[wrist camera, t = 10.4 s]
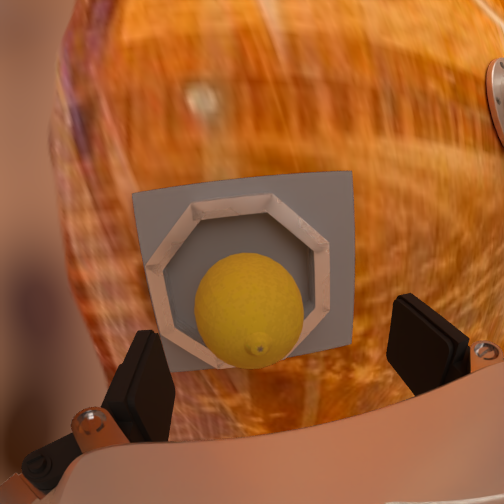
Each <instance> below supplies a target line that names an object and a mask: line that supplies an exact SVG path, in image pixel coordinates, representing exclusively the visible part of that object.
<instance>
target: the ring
mask: <svg viewBox="0 0 504 504" xmlns="http://www.w3.org/2000/svg"><path fill="white" fill-rule="evenodd" d="M264 212H267V213H268V214H269V215H271V216H272V217H273V218H274V219H275V220H277V221H278V222H279V223H280V224H282V225H283V226H284V227H285V228H286V229H288V230H289V231H290V232H291V233H292V234H293V235H295V236H296V237H297V238H298V239H299V240H301V241H302V242H303V243H304V244H305V245H306V246H307V266H308V294H309V299H308V300H307V301H306V302H305V303H304V304H303V308H304V320H303V328H302V332H301V334H300V337H299V340H298V341H297V343H296V344H295V346H294V347H293V349H292V350H291V351H290V352H289V353H288V354H287V355H286V356H285V357H284V358H283V359H281V360H285V359H286V357H287V356H288V355H289V354H290V353H291V352H292V351H293V350H294V349H295V348H296V347H297V346H298V345H299V344H300V343H301V342H302V341H303V340H304V339H305V338H306V336H307V335H308V334H309V333H310V332H311V331H312V330H313V329H314V328H315V327H316V326H317V324H318V323H319V322H320V321H321V320H322V319H323V318H324V317H325V316H326V314H327V313H328V312H329V311H330V253H329V242H328V241H327V240H326V239H325V238H323V237H322V236H321V235H320V234H319V233H318V232H317V231H316V230H314V229H313V228H312V227H311V226H310V225H309V224H308V223H306V222H305V221H304V220H303V219H302V218H301V217H300V216H298V215H297V214H296V213H295V212H294V211H293V210H292V209H290V208H289V207H288V206H287V205H286V204H284V203H283V202H282V201H281V200H280V199H279V198H277V197H276V196H275V195H274V194H273V193H269V192H266V193H256V194H247V195H238V196H229V197H220V198H212V199H204V200H197V201H192V202H191V204H190V205H189V206H188V208H187V209H186V210H185V212H184V213H183V214H182V216H181V217H180V218H179V220H178V221H177V222H176V224H175V225H174V226H173V228H172V229H171V230H170V232H169V233H168V234H167V236H166V237H165V239H164V240H163V241H162V243H161V244H160V245H159V247H158V248H157V250H156V251H155V252H154V254H153V255H152V257H151V258H150V259H149V261H148V262H147V264H146V265H145V269H146V274H147V278H148V283H149V288H150V292H151V297H152V301H153V305H154V310H155V314H156V318H157V322H158V326H159V330H160V333H161V335H162V336H164V337H166V338H167V339H169V340H170V341H172V342H173V343H175V344H177V345H178V346H180V347H181V348H183V349H185V350H186V351H188V352H189V353H191V354H193V355H194V356H196V357H198V358H199V359H201V360H203V361H205V362H206V363H208V364H210V365H211V366H213V367H215V368H217V369H224V368H232V367H235V366H232V365H229V364H227V363H225V362H223V361H222V360H220V359H218V358H217V357H216V356H215V355H214V354H213V353H212V352H211V351H210V350H209V349H208V348H207V346H206V345H205V343H204V341H203V339H202V337H201V335H200V333H199V331H198V330H196V329H195V328H193V327H192V326H190V325H189V324H187V323H186V322H184V321H183V320H181V319H180V318H178V317H177V315H176V310H175V306H174V301H173V296H172V291H171V286H170V281H169V276H168V270H167V264H168V263H169V261H170V260H171V258H172V257H173V256H174V254H175V253H176V252H177V250H178V249H179V248H180V246H181V245H182V244H183V242H184V241H185V240H186V238H187V237H188V236H189V234H190V233H191V232H192V231H193V229H194V228H195V227H196V225H197V224H198V223H199V221H200V220H205V219H213V218H221V217H229V216H238V215H246V214H255V213H264Z"/></svg>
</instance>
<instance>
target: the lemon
mask: <svg viewBox="0 0 504 504" xmlns="http://www.w3.org/2000/svg"><path fill="white" fill-rule="evenodd" d="M194 314H195V319H196V324H197V328H198V331H199V333H200V335H201V337H202V339H203V341H204V343H205V345H206V346H207V348H208V349H209V350H210V351H211V352H212V353H213V354H214V355H215V356H216V357H217V358H218V359H220V360H222V361H223V362H225V363H227V364H229V365H232V366H235V367H238V368H243V369H258V368H264V367H267V366H270V365H273V364H274V363H276V362H278V361H280V360H281V359H283V358H284V357H285V356H286V355H287V354H288V353H289V352H290V351H291V350H292V349H293V347H294V346H295V344H296V343H297V341H298V340H299V337H300V334H301V332H302V328H303V320H304V308H303V302H302V297H301V293H300V291H299V289H298V287H297V285H296V283H295V281H294V279H293V277H292V276H291V275H290V274H289V273H288V271H287V270H286V269H285V268H284V267H283V266H282V265H281V264H279V263H277V262H276V261H274V260H273V259H271V258H269V257H267V256H263V255H260V254H257V253H239V254H234V255H230V256H228V257H226V258H224V259H221V260H219V261H218V262H217V263H216V264H214V265H213V266H212V267H211V268H210V269H209V270H208V271H207V273H206V274H205V275H204V277H203V278H202V280H201V282H200V284H199V287H198V289H197V292H196V295H195V306H194Z"/></svg>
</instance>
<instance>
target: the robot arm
mask: <svg viewBox="0 0 504 504" xmlns="http://www.w3.org/2000/svg"><path fill="white" fill-rule="evenodd" d="M486 85H487V95H488V102H489V107H490V111H491V115H492V119H493V122H494V125H495V128H496V131H497V133H498V136H499V138H500V140H501V143H502V145H503V147H504V58H498V59H494V60H493V61H492V62H491V63H490V65H489V67H488V71H487V80H486ZM468 342H469V338H468V337H467V336H466V335H464V334H463V333H462V332H461V331H460V330H458V329H457V328H456V327H455V326H453V325H452V324H451V323H449V322H448V321H447V320H446V319H444V318H443V317H442V316H441V315H439V314H438V313H437V312H435V311H434V310H433V309H432V308H430V307H429V306H428V305H426V304H425V303H424V302H422V301H421V300H420V299H418V298H417V297H416V296H414V295H413V294H411V293H408V294H403V295H399V296H398V297H397V298H396V300H394V302H393V310H392V318H391V326H390V333H389V340H388V346H387V352H386V356H387V360H388V362H389V363H390V364H391V365H392V367H393V368H394V369H395V370H396V372H397V373H398V374H399V376H400V377H401V378H402V379H403V381H404V382H405V383H406V385H407V386H408V387H409V389H410V390H411V391H412V392H413V394H414V395H415V397H412V398H409V399H406V400H404V401H401V402H398V403H395V404H392V405H389V406H386V407H383V408H379V409H376V410H373V411H370V412H366V413H363V414H359V415H356V416H352V417H348V418H344V419H340V420H336V421H332V422H328V423H324V424H319V425H314V426H310V427H305V428H299V429H294V430H288V431H282V432H276V433H270V434H263V435H255V436H247V437H238V438H227V439H214V440H196V441H171V442H168V437H169V430H170V424H171V418H172V412H173V405H174V400H175V386H174V383H173V380H172V377H171V374H170V370H169V367H168V364H167V361H166V357H165V354H164V350H163V347H162V343H161V340H160V336H159V334H158V333H154V331H153V330H140V331H138V332H137V333H136V335H135V338H134V340H133V342H132V344H131V346H130V348H129V350H128V352H127V355H126V357H125V359H124V361H123V363H122V364H120V365H119V367H118V369H117V371H116V373H115V376H114V378H113V380H112V382H111V384H110V387H109V389H108V391H107V394H106V396H105V399H104V401H103V403H102V405H101V407H89V408H85V409H83V410H81V411H79V412H78V413H77V414H76V415H75V416H74V417H73V419H72V421H71V430H72V433H70V434H69V435H67V436H64V437H63V438H61V439H58V440H56V441H54V442H52V443H50V444H48V445H46V446H44V447H42V448H40V449H38V450H36V451H33V452H31V453H30V454H28V455H27V456H26V457H25V459H24V461H23V463H22V473H21V474H20V475H18V474H17V473H15V474H14V475H12V476H11V477H10V478H9V479H8V480H7V481H5V482H4V483H3V484H2V485H0V504H504V358H503V352H502V350H501V348H500V347H499V346H498V345H496V344H495V343H493V342H490V341H477V342H475V343H473V344H472V346H471V348H470V347H469V346H468Z"/></svg>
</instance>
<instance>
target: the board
mask: <svg viewBox="0 0 504 504" xmlns="http://www.w3.org/2000/svg"><path fill="white" fill-rule="evenodd" d="M266 192H269V193H273V194H274V195H275V196H276V197H277V198H279V199H280V200H281V201H282V202H283V203H284V204H286V205H287V206H288V207H289V208H290V209H292V210H293V211H294V212H295V213H296V214H297V215H298V216H300V217H301V218H302V219H303V220H304V221H305V222H306V223H308V224H309V225H310V226H311V227H312V228H313V229H314V230H316V231H317V232H318V233H319V234H320V235H321V236H322V237H323V238H325V239H326V240H327V241H328V242H329V253H330V311H329V312H328V313H327V314H326V316H325V317H324V318H323V319H322V320H321V321H320V322H319V323H318V324H317V326H316V327H315V328H314V329H313V330H312V331H311V332H310V333H309V334H308V335H307V336H306V338H305V339H304V340H303V341H302V342H301V343H300V344H299V345H298V346H297V347H296V348H295V349H294V350H293V351H292V352H291V353H290V354H289V355H288V356H287V357H286V358H288V357H293V356H298V355H303V354H308V353H313V352H318V351H323V350H327V349H332V348H336V347H340V346H345V345H349V344H351V342H352V328H353V310H354V283H355V224H354V197H353V179H352V171H331V172H312V173H296V174H283V175H270V176H259V177H249V178H239V179H230V180H221V181H212V182H204V183H197V184H189V185H182V186H175V187H168V188H162V189H155V190H149V191H143V192H137V193H133V194H132V199H133V206H134V213H135V219H136V226H137V232H138V238H139V243H140V249H141V254H142V259H143V265H144V270H145V274H146V269H145V265H146V264H147V262H148V261H149V259H150V258H151V257H152V255H153V254H154V252H155V251H156V250H157V248H158V247H159V245H160V244H161V243H162V241H163V240H164V239H165V237H166V236H167V234H168V233H169V232H170V230H171V229H172V228H173V226H174V225H175V224H176V222H177V221H178V220H179V218H180V217H181V216H182V214H183V213H184V212H185V210H186V209H187V208H188V206H189V205H190V204H191V202H192V201H197V200H204V199H212V198H220V197H229V196H238V195H247V194H256V193H266ZM239 253H257V254H260V255H263V256H267V257H269V258H271V259H273V260H274V261H276V262H277V263H279V264H281V265H282V266H283V267H284V268H285V269H286V270H287V271H288V273H289V274H290V275H291V276H292V277H293V279H294V281H295V283H296V285H297V287H298V289H299V291H300V293H301V297H302V302H303V304H304V303H305V302H306V301H307V300H308V299H309V294H308V266H307V246H306V245H305V244H304V243H303V242H302V241H301V240H299V239H298V238H297V237H296V236H295V235H293V234H292V233H291V232H290V231H289V230H288V229H286V228H285V227H284V226H283V225H282V224H280V223H279V222H278V221H277V220H275V219H274V218H273V217H272V216H271V215H269V214H268V213H267V212H264V213H255V214H246V215H238V216H229V217H221V218H213V219H205V220H200V221H199V223H198V224H197V225H196V227H195V228H194V229H193V231H192V232H191V233H190V234H189V236H188V237H187V238H186V240H185V241H184V242H183V244H182V245H181V246H180V248H179V249H178V250H177V252H176V253H175V254H174V256H173V257H172V258H171V260H170V261H169V263H168V264H167V270H168V276H169V281H170V286H171V291H172V296H173V301H174V306H175V310H176V315H177V317H178V318H180V319H181V320H183V321H184V322H186V323H187V324H189V325H190V326H192V327H193V328H195V329H196V330H198V328H197V324H196V319H195V314H194V306H195V295H196V292H197V289H198V287H199V284H200V282H201V280H202V278H203V277H204V275H205V274H206V273H207V271H208V270H209V269H210V268H211V267H212V266H213V265H214V264H216V263H217V262H218V261H219V260H221V259H224V258H226V257H228V256H230V255H234V254H239ZM146 279H147V284H148V288H149V283H148V278H147V274H146ZM149 293H150V297H151V292H150V288H149ZM151 302H152V306H153V310H154V305H153V301H152V297H151ZM154 314H155V310H154ZM155 318H156V314H155ZM156 322H157V318H156ZM157 326H158V322H157ZM158 330H159V326H158ZM159 334H160V338H161V341H162V345H163V348H164V352H165V355H166V359H167V362H168V366H169V369H170V372H183V371H194V370H204V369H213V368H215V367H213V366H211V365H210V364H208V363H206V362H205V361H203V360H201V359H199V358H198V357H196V356H194V355H193V354H191V353H189V352H188V351H186V350H185V349H183V348H181V347H180V346H178V345H177V344H175V343H173V342H172V341H170V340H169V339H167V338H166V337H164V336H162V335H161V333H160V330H159Z"/></svg>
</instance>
